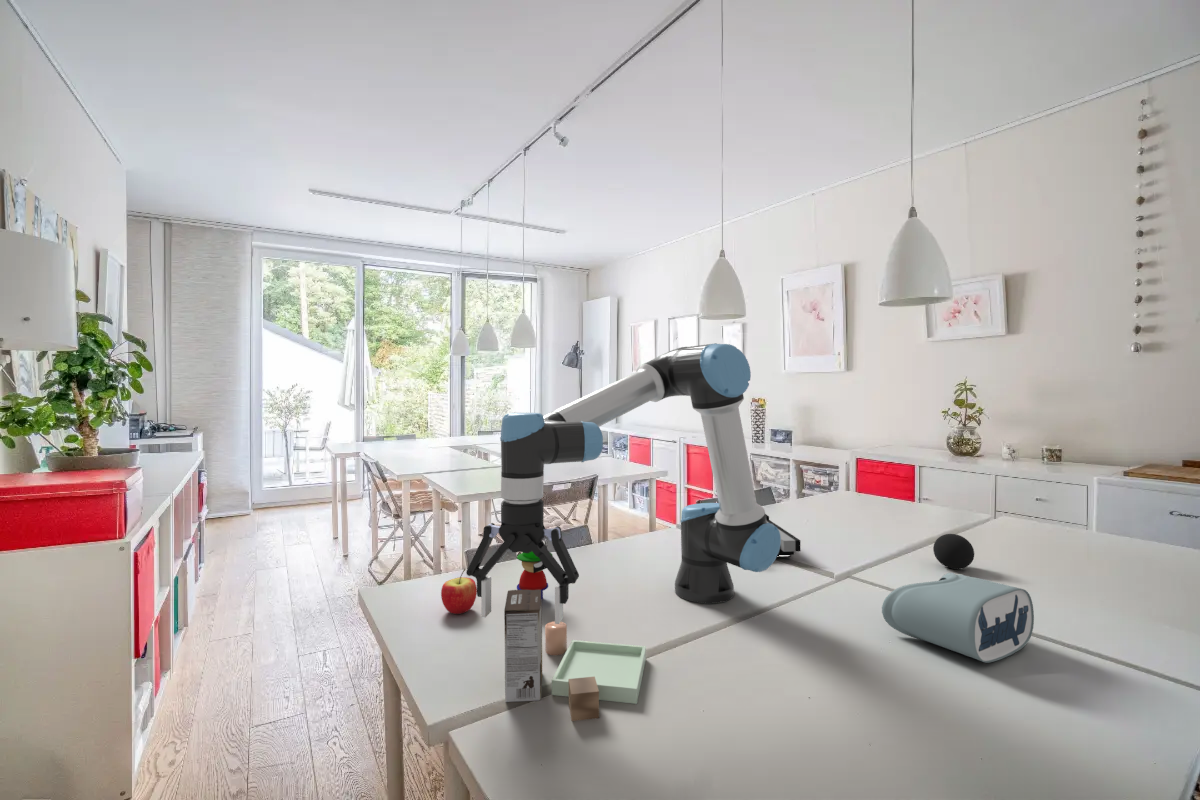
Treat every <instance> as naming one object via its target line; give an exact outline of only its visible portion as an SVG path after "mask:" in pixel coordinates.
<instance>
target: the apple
mask: <svg viewBox="0 0 1200 800" xmlns="http://www.w3.org/2000/svg"><path fill="white" fill-rule="evenodd" d="M465 571H466V568H464V569H463V570H462V572H461V574H460V577H455V578H452V579H451V578H450V579H449V580H447V581H445V582H444V583H443V584H442V587H441V592H440V596H441V597H440V598H441V603H442V605H443V607H444V608H445V610H447V612H449V613H450V614H454V615H460V614H464V613H467V612H468V611H470V609H471V608H473V606H474V603H475V602H476V599H477V582H476V581H475V580H474V578H471V577H465V576H463V574H464V572H465Z"/></svg>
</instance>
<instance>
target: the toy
mask: <svg viewBox="0 0 1200 800" xmlns="http://www.w3.org/2000/svg"><path fill="white" fill-rule="evenodd" d="M550 553H551V555H552V556H553V557H554V555H553V553H552V552H550ZM516 558H517V560H518V561H520V562H521V566H522V568H523V571H522V572H521V574H520V577H519V582H518V584H517V585H516V590H541V601H542V600H543V599H544V591H546V590H547V589H548V588H549V583H548V581H547V577H546V574H545V572H544V570H546V569H547V568H546V566H545V565H544V564H543V563H542V561H541V560H540V559H539V557H537V556H535V554H534V553H533V552H530V553H523V552H520V553H519V554H518V555H517V556H516Z"/></svg>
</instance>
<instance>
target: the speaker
mask: <svg viewBox="0 0 1200 800" xmlns="http://www.w3.org/2000/svg"><path fill="white" fill-rule="evenodd" d="M932 549H933V554H934V556H935V559H936V560H937V562H938V563H940V564H941V565H942V566H944V567H945V568H948V569H953V570H961V569H965V568H967V567H969V566H970V565H971V564H972V563H973V560H974V558H975V550H974V547H973V545H972V544H971V542H970V541H969V540H968V539H967V538H965V537H964V536H962V535H959V534H956V533H946V534H942V535H941V536H939V537H937V539H936V540H935V541H934V543H933V548H932Z"/></svg>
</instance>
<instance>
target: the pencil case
mask: <svg viewBox="0 0 1200 800" xmlns="http://www.w3.org/2000/svg"><path fill="white" fill-rule="evenodd" d="M881 614H882V617H883V619H884V621H885V622H886V624H888V626H890V627H891V628H892V629H894V630H895V631H898V632H899V633H901V634H904V635H906V636H909V637H911V638H914V639H917V640H921V641H924V642H927V643H930V644H933V645H935V646H939V647H942V648H945V649H947V650H951V651H953V652H956V653H958V654H961V655H964V656H965V657H966V656H967V657H969V658H972V659H975V660H977V661H980V662H982V663H988V664H989V663H990V664H991V663H995V662H998V661H1001V660H1003V659H1005V658H1008V657H1009V656H1010V657H1011V656H1012V655H1013V654H1015V653H1017V652H1019V651H1020V650H1021V649H1024V647H1025V646H1027V644H1028V643H1029V641H1030V639H1031V637H1032V634H1033V629H1034V623H1035V622H1034V621H1035V616H1034V615H1035V614H1034V604H1033V600H1032V597H1031V595H1030V593H1029V592H1028V591H1027V590H1026V589H1024V588H1021V587H1020V588H1019V587H1016V586H1011V585H1007V584H1004V583H999V582H995V581H992V580H988V579H983V578H978V577H974V576H968V575H964V574H960V573H959V574H956V573H953V572H947V573H945V574H943V575H942V576H941V577H940V578H939V580H934V581H924V582H923V581H922V582H915V583H911V584H905V585H901V586H900V587H897V588H895V589H894V590H892V591H890V593H889V594H887V595H886V597H885V599H884V600H883V602H882V605H881Z"/></svg>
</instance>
